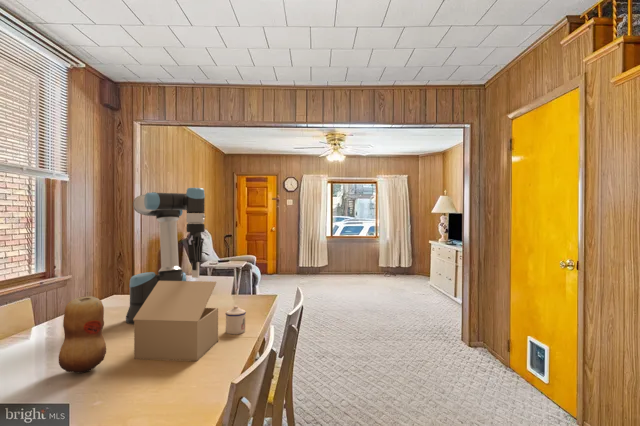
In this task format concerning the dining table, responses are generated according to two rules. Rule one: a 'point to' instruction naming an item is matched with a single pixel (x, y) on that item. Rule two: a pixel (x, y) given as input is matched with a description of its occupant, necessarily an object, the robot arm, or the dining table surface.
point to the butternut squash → (83, 335)
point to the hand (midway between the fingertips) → (195, 277)
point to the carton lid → (176, 301)
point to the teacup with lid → (235, 320)
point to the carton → (176, 338)
